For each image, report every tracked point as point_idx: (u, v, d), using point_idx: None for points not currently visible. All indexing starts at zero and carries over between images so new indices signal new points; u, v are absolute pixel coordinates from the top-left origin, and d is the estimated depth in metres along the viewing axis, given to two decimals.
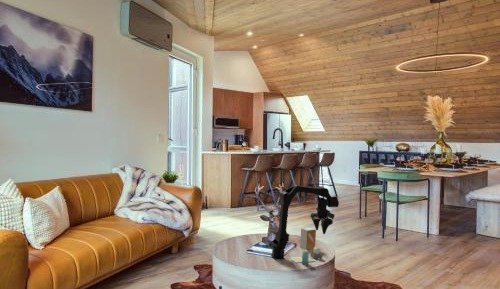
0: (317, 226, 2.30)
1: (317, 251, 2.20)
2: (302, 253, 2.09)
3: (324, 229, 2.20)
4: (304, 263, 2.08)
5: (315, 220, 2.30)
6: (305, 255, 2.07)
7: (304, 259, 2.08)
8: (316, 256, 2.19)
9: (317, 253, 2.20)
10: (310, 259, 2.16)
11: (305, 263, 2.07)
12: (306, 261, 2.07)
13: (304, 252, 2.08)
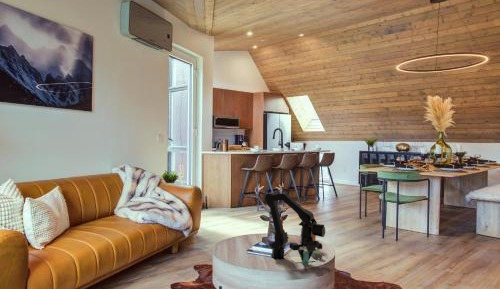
0: None
1: (317, 251, 2.20)
2: None
3: (300, 255, 2.09)
4: (304, 263, 2.08)
5: None
6: (305, 255, 2.07)
7: (304, 259, 2.08)
8: (316, 256, 2.19)
9: (317, 253, 2.20)
10: (310, 259, 2.16)
11: (305, 263, 2.07)
12: (306, 261, 2.07)
13: (304, 252, 2.08)
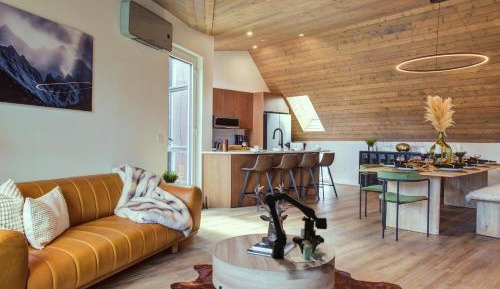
0: (312, 249, 2.18)
1: (317, 251, 2.20)
2: None
3: (300, 248, 2.16)
4: (306, 258, 2.15)
5: None
6: (307, 250, 2.15)
7: (306, 254, 2.15)
8: (316, 256, 2.19)
9: (317, 253, 2.20)
10: (310, 259, 2.16)
11: (307, 258, 2.15)
12: (308, 256, 2.15)
13: (306, 247, 2.16)
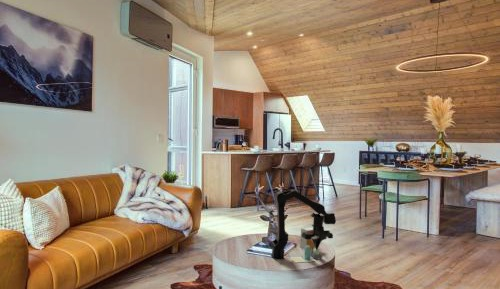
0: None
1: (317, 252, 2.20)
2: None
3: (314, 244, 2.21)
4: (306, 258, 2.15)
5: (317, 238, 2.22)
6: (307, 250, 2.15)
7: (306, 254, 2.15)
8: (316, 256, 2.19)
9: (317, 254, 2.20)
10: (310, 259, 2.16)
11: (307, 258, 2.15)
12: (308, 256, 2.15)
13: (306, 247, 2.15)
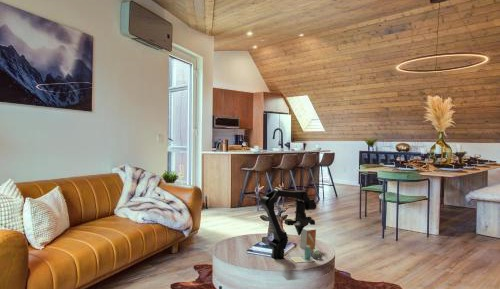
0: None
1: (317, 253, 2.20)
2: None
3: (297, 230, 2.25)
4: (307, 258, 2.15)
5: (299, 225, 2.26)
6: (308, 250, 2.15)
7: (307, 254, 2.15)
8: (316, 256, 2.19)
9: None
10: (310, 259, 2.16)
11: (308, 258, 2.15)
12: (309, 256, 2.15)
13: (307, 247, 2.15)
